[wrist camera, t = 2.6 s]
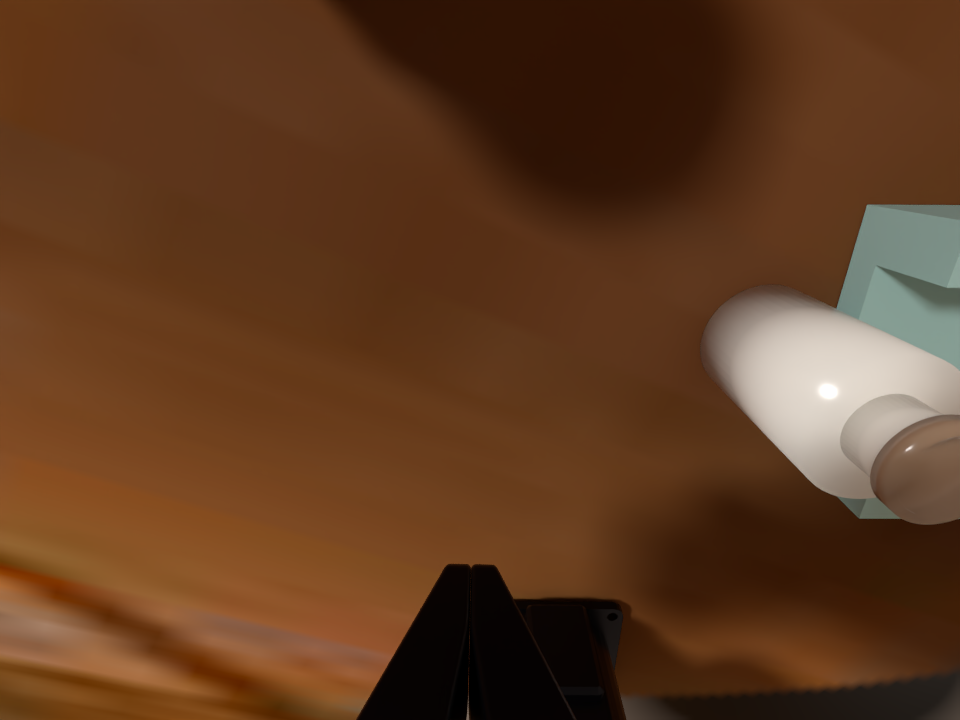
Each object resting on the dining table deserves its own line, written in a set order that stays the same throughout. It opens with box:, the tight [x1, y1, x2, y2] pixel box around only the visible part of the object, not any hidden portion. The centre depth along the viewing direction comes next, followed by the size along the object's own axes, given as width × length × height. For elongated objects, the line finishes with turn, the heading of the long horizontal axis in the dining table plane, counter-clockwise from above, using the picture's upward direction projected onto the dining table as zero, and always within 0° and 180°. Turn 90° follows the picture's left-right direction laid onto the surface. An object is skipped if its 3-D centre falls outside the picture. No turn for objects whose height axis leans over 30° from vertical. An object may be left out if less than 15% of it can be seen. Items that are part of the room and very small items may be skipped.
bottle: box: [700, 285, 960, 525], centre depth 15 cm, size 4×4×8 cm
